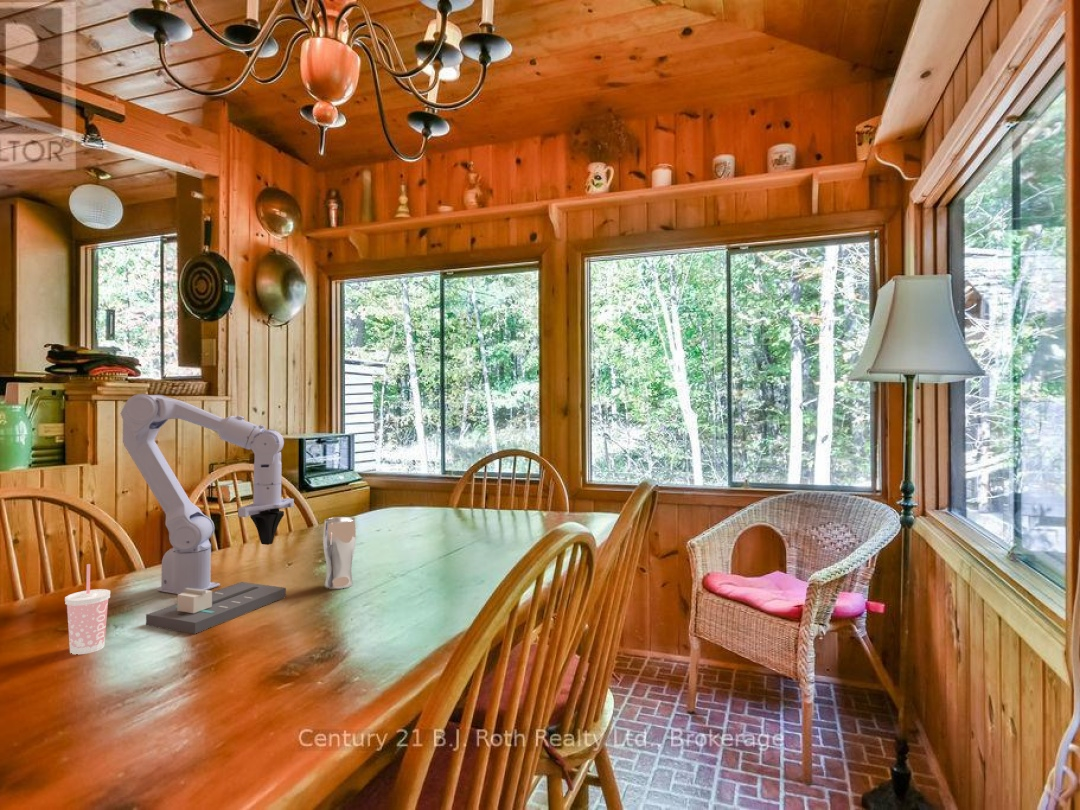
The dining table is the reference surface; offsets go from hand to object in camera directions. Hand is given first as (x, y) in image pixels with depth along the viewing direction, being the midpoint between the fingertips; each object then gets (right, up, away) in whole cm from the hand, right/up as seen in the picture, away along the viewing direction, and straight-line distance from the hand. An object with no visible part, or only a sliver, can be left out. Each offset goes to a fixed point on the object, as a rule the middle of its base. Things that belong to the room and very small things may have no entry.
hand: (266, 543), depth 135 cm
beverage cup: (-14, -9, -36) cm, 39 cm away
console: (-2, -9, -16) cm, 19 cm away
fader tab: (-4, -7, -22) cm, 23 cm away
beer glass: (+16, -10, +1) cm, 19 cm away
